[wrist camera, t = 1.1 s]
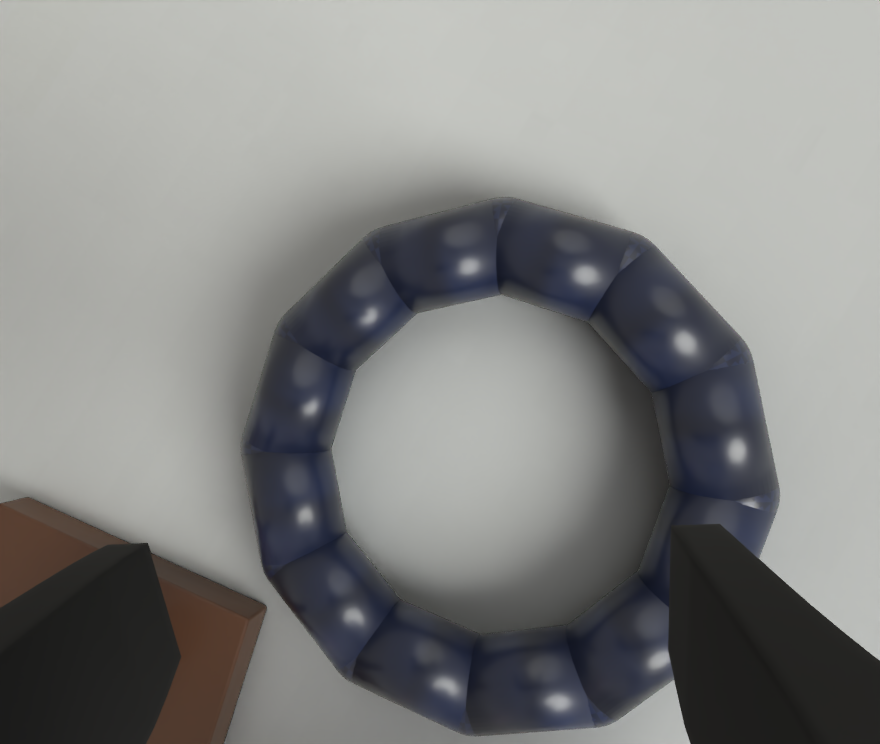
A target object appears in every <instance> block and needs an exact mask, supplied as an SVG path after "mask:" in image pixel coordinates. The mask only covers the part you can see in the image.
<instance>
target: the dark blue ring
mask: <svg viewBox="0 0 880 744" xmlns="http://www.w3.org/2000/svg"><path fill="white" fill-rule="evenodd" d="M501 294H502V295H505V296H508V297H511V298H514V299H517V300H520V301H524V302H527V303H530V304H533V305H536V306H539V307H542V308H545V309H548V310H552V311H555V312H558V313H561V314H564V315H567V316H570V317H573V318H576V319H580V320H583V321H586V322H588V323H589V324H590V325H591V326H592V327H593V328H594V330H595V331H596V332H597V333H598V334H599V335H600V336H601V337H602V338H603V340H604V341H605V342H606V343H607V344H608V345H609V346H610V347H611V348H612V350H613V351H614V352H615V353H616V354H617V355H618V356H619V357H620V358H621V360H622V361H623V362H624V363H625V364H626V365H627V366H628V367H629V368H630V370H631V371H632V372H633V373H634V374H635V375H636V376H637V377H638V378H639V380H640V381H641V382H642V383H643V384H644V385H645V386H646V387H647V388H648V390H649V391H650V392H651V394H652V399H653V404H654V409H655V414H656V419H657V424H658V429H659V434H660V439H661V444H662V449H663V454H664V459H665V464H666V469H667V474H668V479H669V483H670V485H669V488H668V491H667V494H666V496H665V499H664V502H663V504H662V507H661V510H660V513H659V515H658V518H657V521H656V523H655V526H654V529H653V532H652V534H651V537H650V540H649V543H648V545H647V548H646V551H645V553H644V556H643V559H642V562H641V564H640V567H639V570H638V571H637V572H636V573H634V574H633V575H632V576H631V577H629V578H628V579H627V580H625V581H624V582H623V583H621V584H620V585H619V586H618V587H616V588H615V589H614V590H612V591H611V592H610V593H609V594H607V595H606V596H605V597H603V598H602V599H601V600H599V601H598V602H597V603H596V604H594V605H593V606H592V607H590V608H589V609H588V610H586V611H585V612H584V613H583V614H581V615H580V616H579V617H577V618H576V619H575V620H573V621H572V622H571V623H570V624H568V625H562V626H553V627H544V628H535V629H526V630H516V631H507V632H498V633H489V634H479V633H476V632H474V631H472V630H469V629H467V628H465V627H463V626H460V625H458V624H456V623H453V622H451V621H449V620H446V619H444V618H442V617H440V616H437V615H435V614H433V613H430V612H428V611H426V610H423V609H421V608H419V607H416V606H414V605H412V604H410V603H407V602H405V601H403V600H400V598H399V597H398V596H397V595H396V593H395V592H394V591H393V590H392V588H391V587H390V586H389V585H388V583H387V582H386V581H385V580H384V578H383V577H382V576H381V574H380V573H379V572H378V571H377V569H376V568H375V567H374V566H373V564H372V563H371V562H370V561H369V559H368V558H367V557H366V555H365V554H364V553H363V552H362V550H361V549H360V548H359V547H358V545H357V544H356V543H355V542H354V540H353V539H352V538H351V537H350V535H349V534H348V533H347V531H346V525H345V520H344V515H343V509H342V504H341V499H340V493H339V488H338V483H337V477H336V472H335V467H334V461H333V456H332V451H331V447H332V444H333V441H334V438H335V434H336V431H337V428H338V425H339V422H340V419H341V416H342V413H343V409H344V406H345V403H346V400H347V397H348V394H349V391H350V388H351V384H352V381H353V378H354V375H355V372H356V369H357V368H358V367H360V366H361V365H362V364H363V363H364V362H365V361H366V360H367V359H368V358H369V357H370V356H371V355H373V354H374V353H375V352H376V351H377V350H378V349H379V348H380V347H381V346H382V345H383V344H384V343H386V342H387V341H388V340H389V339H390V338H391V337H392V336H393V335H394V334H395V333H396V332H397V331H399V330H400V329H401V328H402V327H403V326H404V325H405V324H406V323H407V322H408V321H409V320H410V319H411V318H413V317H414V316H415V315H416V314H417V313H420V312H424V311H429V310H434V309H438V308H443V307H447V306H452V305H456V304H461V303H465V302H470V301H474V300H479V299H483V298H488V297H492V296H497V295H501ZM241 456H242V461H243V467H244V472H245V478H246V483H247V489H248V494H249V499H250V505H251V510H252V516H253V521H254V527H255V532H256V538H257V543H258V549H259V554H260V559H261V564H262V568H263V571H264V573H265V575H266V577H267V579H268V580H269V582H270V583H271V584H272V586H273V587H274V588H275V589H276V591H277V592H278V593H279V595H280V596H281V597H282V599H283V600H284V601H285V603H286V604H287V605H288V607H289V608H290V609H291V610H292V612H293V613H294V614H295V616H296V617H297V618H298V620H299V621H300V622H301V624H302V625H303V626H304V628H305V629H306V630H307V631H308V633H309V634H310V635H311V637H312V638H313V639H314V641H315V642H316V643H317V645H318V646H319V647H320V649H321V650H322V651H323V652H324V654H325V655H326V656H327V658H328V659H329V660H330V662H331V663H332V664H333V666H334V667H335V668H336V670H337V671H338V672H339V673H340V674H341V675H342V676H343V677H344V678H345V679H347V680H348V681H350V682H351V683H353V684H355V685H358V686H360V687H362V688H364V689H366V690H368V691H370V692H373V693H375V694H377V695H379V696H381V697H383V698H385V699H387V700H390V701H392V702H394V703H396V704H398V705H400V706H402V707H404V708H407V709H409V710H411V711H413V712H415V713H417V714H419V715H421V716H424V717H426V718H428V719H430V720H432V721H434V722H436V723H439V724H441V725H443V726H445V727H447V728H449V729H451V730H453V731H456V732H458V733H460V734H464V735H468V736H489V735H502V734H516V733H529V732H543V731H556V730H570V729H583V728H596V727H602V726H607V725H609V724H612V723H614V722H616V721H617V720H619V719H620V718H621V717H623V716H624V715H626V714H627V713H628V712H630V711H631V710H632V709H634V708H635V707H637V706H638V705H639V704H641V703H642V702H643V701H645V700H646V699H648V698H649V697H650V696H652V695H653V694H654V693H656V692H657V691H659V690H660V689H661V688H663V687H664V686H666V685H667V684H668V683H670V682H671V681H672V680H674V675H673V671H672V666H671V661H670V656H669V652H668V632H669V588H670V543H671V525H698V524H721V525H722V526H723V527H724V528H725V529H726V530H727V531H729V532H730V533H731V534H732V535H733V536H734V537H735V538H736V539H737V540H739V541H740V542H741V543H742V544H743V545H744V546H745V547H746V548H747V549H748V550H750V551H751V552H752V553H753V554H754V555H755V556H756V557H757V558H758V559H759V557H760V554H761V552H762V549H763V547H764V544H765V541H766V539H767V536H768V534H769V531H770V528H771V526H772V523H773V520H774V518H775V515H776V513H777V509H778V506H779V500H780V489H779V483H778V478H777V474H776V469H775V464H774V459H773V454H772V449H771V444H770V440H769V435H768V430H767V425H766V420H765V415H764V410H763V406H762V401H761V396H760V391H759V386H758V381H757V377H756V372H755V367H754V362H753V358H752V354H751V352H750V350H749V348H748V346H747V344H746V343H745V341H744V340H743V339H742V338H741V337H740V335H739V334H738V333H737V332H736V331H735V330H734V329H733V328H732V327H731V326H730V325H729V324H728V323H727V322H726V321H725V319H724V318H723V317H722V316H721V315H720V314H719V313H718V312H717V311H716V310H715V309H714V308H713V307H712V306H711V305H710V303H709V302H708V301H707V300H706V299H705V298H704V297H703V296H702V295H701V294H700V293H699V292H698V291H697V290H696V289H695V287H694V286H693V285H692V284H691V283H690V282H689V281H688V280H687V279H686V278H685V277H684V276H683V275H682V274H681V273H680V271H679V270H678V269H677V268H676V267H675V266H674V265H673V264H672V263H671V262H670V261H669V260H668V259H667V258H666V257H665V255H664V254H663V253H662V252H661V251H660V250H659V249H658V248H657V247H656V246H655V245H654V244H653V243H652V242H651V241H649V240H648V239H647V238H645V237H643V236H642V235H640V234H637V233H634V232H631V231H627V230H624V229H620V228H617V227H614V226H610V225H607V224H603V223H600V222H596V221H593V220H589V219H586V218H582V217H579V216H575V215H572V214H569V213H565V212H562V211H558V210H555V209H551V208H548V207H544V206H541V205H537V204H534V203H530V202H527V201H524V200H520V199H516V198H511V197H499V198H494V199H490V200H486V201H482V202H478V203H474V204H470V205H466V206H462V207H458V208H454V209H450V210H446V211H442V212H439V213H435V214H431V215H427V216H423V217H419V218H415V219H411V220H407V221H403V222H399V223H395V224H391V225H387V226H384V227H381V228H378V229H376V230H374V231H372V232H370V233H369V234H368V235H366V236H365V237H364V238H363V239H362V240H361V241H360V242H359V243H358V244H357V245H356V246H355V247H354V248H353V249H352V250H351V251H350V252H348V253H347V254H346V255H345V256H344V257H343V258H342V259H341V260H340V261H339V262H338V263H337V264H336V265H335V266H334V267H333V268H332V269H331V270H330V271H329V272H328V273H327V274H326V275H325V276H324V277H323V278H322V279H321V280H320V281H319V282H318V283H317V284H316V285H314V286H313V287H312V288H311V289H310V290H309V291H308V292H307V293H306V294H305V295H304V296H303V297H302V298H301V299H300V300H299V301H298V302H297V303H296V304H295V305H294V306H293V307H292V308H291V309H290V310H289V311H288V312H287V313H286V314H285V315H284V316H283V317H282V318H281V320H280V321H279V323H278V325H277V327H276V329H275V332H274V335H273V338H272V341H271V345H270V348H269V351H268V354H267V358H266V361H265V364H264V367H263V371H262V374H261V377H260V380H259V384H258V387H257V390H256V393H255V397H254V400H253V403H252V406H251V410H250V413H249V416H248V419H247V423H246V426H245V429H244V432H243V436H242V441H241Z"/></svg>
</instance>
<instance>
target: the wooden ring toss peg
mask: <svg viewBox="0 0 880 744" xmlns="http://www.w3.org/2000/svg"><path fill="white" fill-rule="evenodd" d="M111 544H130V543H127V542H125V541H123V540H121V539H119V538H117V537H114V536H112V535H110V534H108V533H106V532H103V531H101V530H99V529H97V528H95V527H92V526H90V525H88V524H86V523H84V522H81V521H79V520H77V519H75V518H73V517H71V516H68V515H66V514H64V513H62V512H60V511H57V510H55V509H53V508H51V507H49V506H46V505H44V504H42V503H40V502H38V501H36V500H33V499H31V498H29V497H26V498H21V499H17V500H13V501H9V502H4V503H0V608H1V607H2V606H4V605H6V604H7V603H9V602H10V601H12V600H14V599H15V598H17V597H18V596H20V595H22V594H23V593H25V592H26V591H28V590H30V589H31V588H33V587H35V586H36V585H38V584H39V583H41V582H43V581H44V580H46V579H48V578H49V577H51V576H52V575H54V574H56V573H57V572H59V571H61V570H62V569H64V568H66V567H67V566H69V565H71V564H73V563H74V562H76V561H78V560H79V559H81V558H83V557H85V556H87V555H88V554H90V553H92V552H94V551H96V550H98V549H100V548H102V547H104V546H106V545H111ZM151 556H152V559H153V563H154V566H155V569H156V573H157V576H158V580H159V583H160V586H161V590H162V593H163V597H164V600H165V603H166V607H167V610H168V613H169V617H170V620H171V624H172V627H173V630H174V634H175V637H176V640H177V644H178V647H179V651H180V654H181V659H180V662H179V665H178V667H177V670H176V673H175V676H174V678H173V681H172V684H171V687H170V690H169V692H168V695H167V698H166V700H165V702H164V705H163V707H162V710H161V712H160V715H159V717H158V720H157V722H156V725H155V727H154V729H153V731H152V733H151V735H150V737H149V739H148V741H147V743H146V744H224V741H225V738H226V735H227V731H228V728H229V725H230V722H231V719H232V716H233V713H234V710H235V706H236V703H237V700H238V697H239V694H240V691H241V688H242V684H243V681H244V678H245V675H246V672H247V669H248V666H249V662H250V659H251V656H252V653H253V650H254V647H255V644H256V640H257V637H258V634H259V631H260V628H261V625H262V622H263V618H264V615H265V612H266V609H267V607H266V606H265V605H263V604H261V603H259V602H257V601H254V600H252V599H250V598H248V597H246V596H243V595H241V594H239V593H237V592H235V591H233V590H230V589H228V588H226V587H224V586H222V585H219V584H217V583H215V582H213V581H211V580H208V579H206V578H204V577H202V576H200V575H198V574H195V573H193V572H191V571H189V570H187V569H184V568H182V567H180V566H178V565H176V564H173V563H171V562H169V561H167V560H165V559H162V558H160V557H158V556H156V555H154V554H152V553H151Z"/></svg>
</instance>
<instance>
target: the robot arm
mask: <svg viewBox="0 0 880 744" xmlns="http://www.w3.org/2000/svg"><path fill="white" fill-rule="evenodd" d="M668 652H669V656H670V661H671V666H672V671H673V675H674V680H675V685H676V689H677V694H678V698H679V703H680V707H681V711H682V716H683V720H684V725H685V728H686V731H687V734H688V737H689V740H690V743H691V744H880V661H879V660H878V659H877V658H875V657H874V656H873V655H871V654H870V653H869V652H868V651H866V650H865V649H864V648H863V647H861V646H860V645H859V644H858V643H856V642H855V641H854V640H853V639H851V638H850V637H849V636H848V635H846V634H845V633H844V632H843V631H841V630H840V629H839V628H838V627H837V626H835V625H834V624H833V623H832V622H831V621H829V620H828V619H827V618H826V617H825V616H823V615H822V614H821V613H820V612H819V611H817V610H816V609H815V608H814V607H813V606H811V605H810V604H809V603H808V602H807V601H806V600H805V599H803V598H802V597H801V596H800V595H799V594H798V593H796V592H795V591H794V590H793V589H792V588H791V587H790V586H789V585H787V584H786V583H785V582H784V581H783V580H782V579H781V578H780V577H778V576H777V575H776V574H775V573H774V572H773V571H772V570H771V569H769V568H768V567H767V566H766V565H765V564H764V563H763V562H762V561H761V560H760V559H758V558H757V557H756V556H755V555H754V554H753V553H752V552H751V551H750V550H748V549H747V548H746V547H745V546H744V545H743V544H742V543H741V542H740V541H739V540H737V539H736V538H735V537H734V536H733V535H732V534H731V533H730V532H729V531H727V530H726V529H725V528H724V527H723V526H722V525H721V524H698V525H671V543H670V588H669V632H668ZM180 659H181V654H180V651H179V647H178V644H177V640H176V637H175V634H174V630H173V627H172V624H171V620H170V617H169V613H168V610H167V607H166V603H165V600H164V597H163V593H162V590H161V586H160V583H159V580H158V576H157V573H156V569H155V566H154V563H153V559H152V556H151V553H150V549H149V546H148V543H141V544H111V545H106V546H104V547H102V548H100V549H98V550H96V551H94V552H92V553H90V554H88V555H87V556H85V557H83V558H81V559H79V560H78V561H76V562H74V563H73V564H71V565H69V566H67V567H66V568H64V569H62V570H61V571H59V572H57V573H56V574H54V575H52V576H51V577H49V578H48V579H46V580H44V581H43V582H41V583H39V584H38V585H36V586H35V587H33V588H31V589H30V590H28V591H26V592H25V593H23V594H22V595H20V596H18V597H17V598H15V599H14V600H12V601H10V602H9V603H7V604H6V605H4V606H2V607H1V608H0V744H146V743H147V741H148V739H149V737H150V735H151V733H152V731H153V729H154V727H155V725H156V722H157V720H158V717H159V715H160V712H161V710H162V707H163V705H164V702H165V700H166V698H167V695H168V692H169V690H170V687H171V684H172V681H173V678H174V676H175V673H176V670H177V667H178V665H179V662H180Z"/></svg>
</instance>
